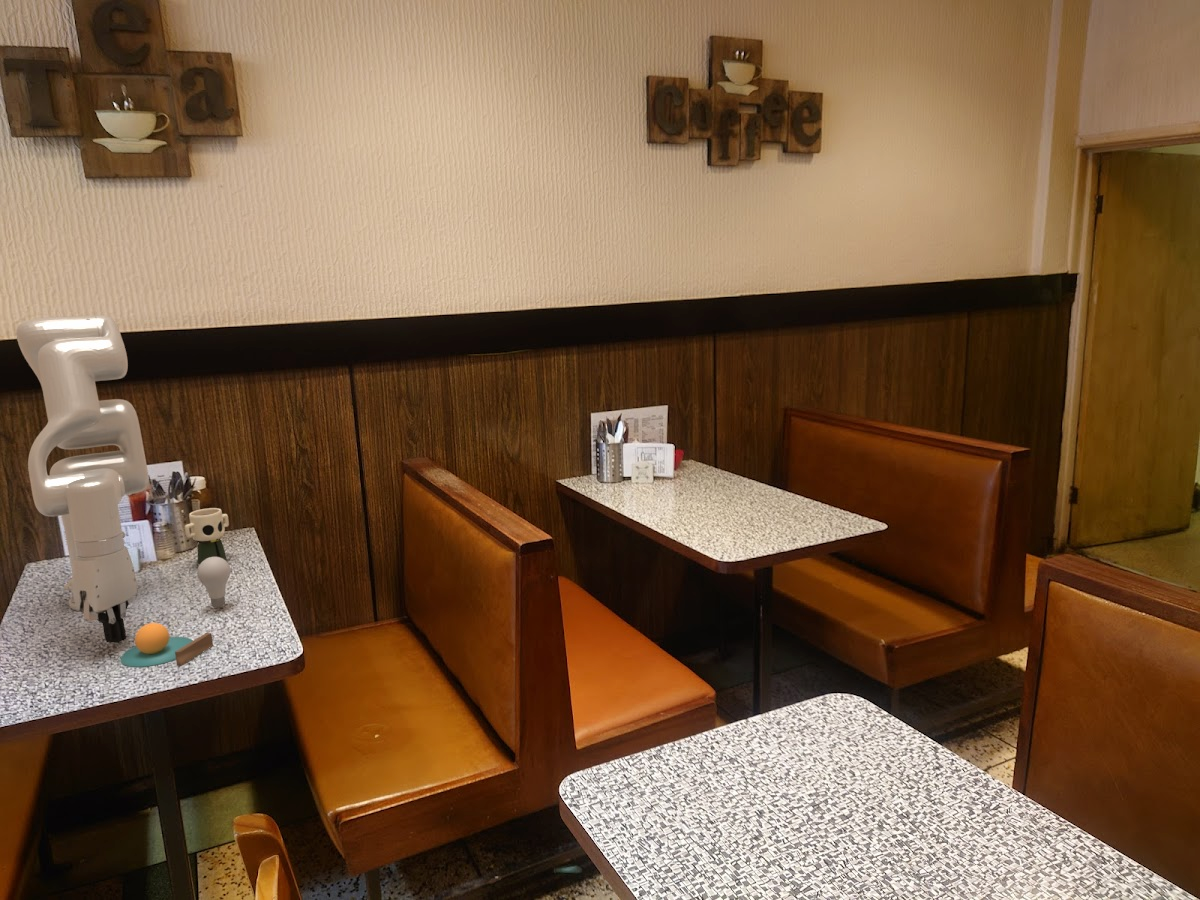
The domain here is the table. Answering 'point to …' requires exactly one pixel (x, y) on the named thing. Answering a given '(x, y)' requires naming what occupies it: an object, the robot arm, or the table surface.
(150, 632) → the ball
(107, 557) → the robot arm
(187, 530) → the character mug
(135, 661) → the disc
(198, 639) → the stopper strip
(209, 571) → the lightbulb
